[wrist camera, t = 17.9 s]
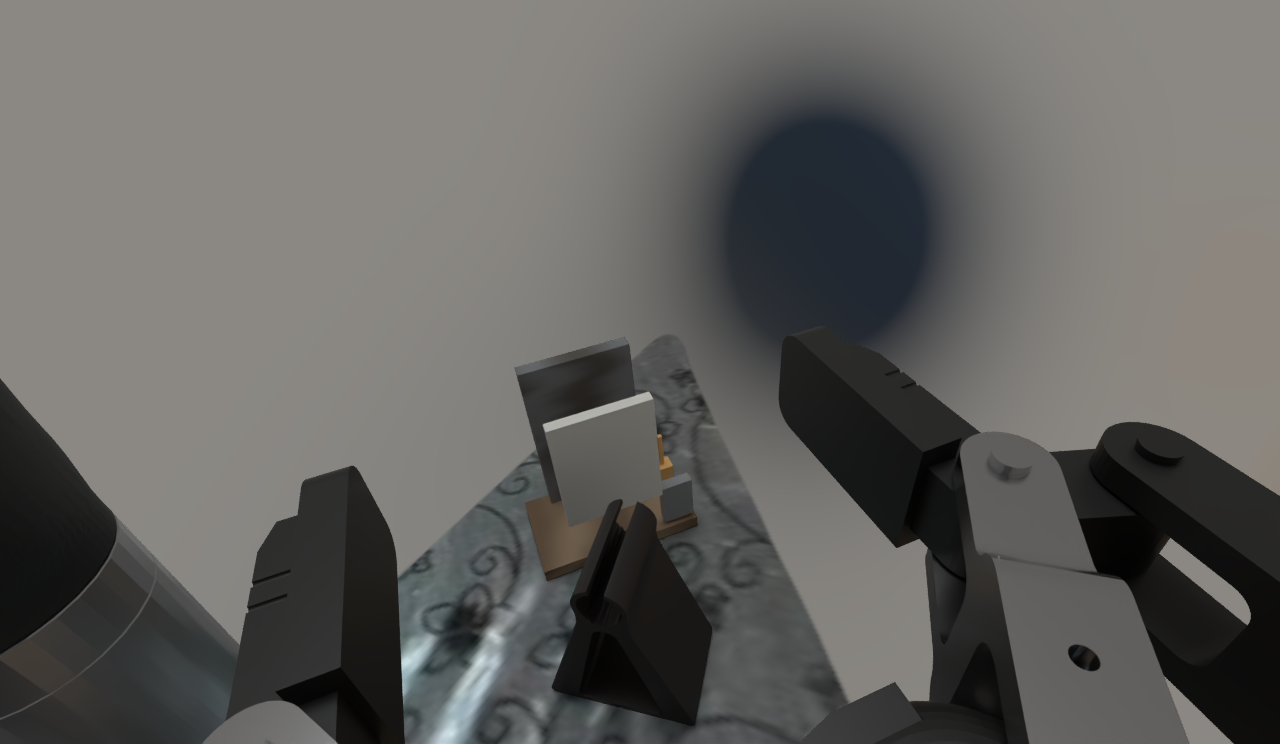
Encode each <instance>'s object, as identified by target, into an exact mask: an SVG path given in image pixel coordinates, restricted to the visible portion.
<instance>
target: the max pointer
mask: <svg viewBox="0 0 1280 744" xmlns="http://www.w3.org/2000/svg"><path fill="white" fill-rule="evenodd" d="M657 441H658V451H659V462H660V472H661V481H664V480H667V479H669V478H672V477H674V473H673V465H672V463H671V462H670V460H669V458H668V457H667V456H666V457H664V455H663V444H662V436H661V434H659V435H657Z"/></svg>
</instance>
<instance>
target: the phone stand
mask: <svg viewBox="0 0 1280 744" xmlns="http://www.w3.org/2000/svg"><path fill="white" fill-rule="evenodd" d="M622 505H623V501H622V499H617V500H614V501H612V502H611V503H610V504H609V505H608V507H607V509H606V512H605V514H604V517H603V519H602V522H601V524H600V527H599V529H598V532H597V534H596V537H595V539H594V542H593V544H592V547H591V549H590V552H589V554H588V557H587V559H586V562H585V564H584V567H583V569H582V572H581V574H580V577H579V579H578V582H577V584H576V587H575V589H574V592H573V594H572V597H571V599H570V605H571V608H572V609H573V611H574V613H575V616H576V624H575V626H574V629H573V632H572V634H571V637H570V640H569V642H568V645H567V648H566V650H565V653H564V655H563V658H562V661H561V663H560V666H559V669H558V671H557V674H556V677H555V679H554V682H553V684H552V689H554V690H555V691H558V692H561V693H565V694H569V695H573V696H577V697H581V698H585V699H589V700H593V701H597V702H601V703H604V704H608V705H612V706H616V707H619V706H621V707H623V708H624V709H628V710H632V711H636V712H640V713H643V714H647V715H651V716H655V717H659V718H663V719H667V720H671V721H675V722H679V723H683V724H686V725H694V723H695V718H696V713H697V707H698V702H699V697H700V691H701V686H702V681H703V676H704V670H705V665H706V660H707V654H708V649H709V644H710V639H711V633H712V627H711V625H710V624H709V622H708V620H707V619H706V617H705V615H704V614H703V612H702V610H701V609H700V607H699V605H698V604H697V602H696V601H695V599H694V597H693V596H692V594H691V592H690V591H689V589H688V587H687V586H686V584H685V583H684V581H683V579H682V578H681V576H680V574H679V573H678V571H677V569H676V568H675V566H674V565H673V563H672V561H671V560H670V558H669V556H668V555H667V553H666V551H665V550H664V548H663V547H662V545H661V543H660V541H659V539H658V537H657V532H656V527H657V519H656V516H655V514H654V513H653V512H652V511H651V510H650V509H649V508H648V507H647V506H645V505H644V504H642V503H640V502H638V501H637V503H636V506H635V509H634V512H633V514H632V517H631V520H630V523H629V526H628V529H627V530H626V531H624V529H623V527H622V526H619V524H618V523H617V522H616V520H617V518H618V515H619V512H620V510H621V507H622Z"/></svg>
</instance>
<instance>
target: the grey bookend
mask: <svg viewBox="0 0 1280 744" xmlns="http://www.w3.org/2000/svg"><path fill="white" fill-rule="evenodd" d="M515 371H516V375H517V378H518V382H519V386H520V390H521V393H522V397H523V401H524V404H525V408H526V411H527V416H528V419H529V423H530V427H531V430H532V434H533V438H534V441H535V445H536V449H537V453H538V456H539V460H540V464H541V467H542V471H543V475H544V479H545V482H546V486H547V490H548V493H549V495H548V496H545V497H542V498H539V499H536V500H533V501H530V502H527V503H525V505H526V509H527V512H528V516H529V519H530V523H531V526H532V530H533V533H534V537H535V540H536V544H537V547H538V551H539V555H540V558H541V562H542V565H543V569H544V572H545V575H546V579H547V580H550V579H553V578H556V577H558V576H561V575H564V574H566V573H569V572H572V571H575V570H577V569H580V568H583V567H584V564H585V562H586V559H587V557H588V554H589V552H590V549H591V547H592V544H593V542H594V539H595V537H596V534H597V532H598V529H599V527H600V524H601V522H602V519H603V517H604V516H601V517H598V518H595V519H592V520H589V521H587V522H584V523H581V524H578V525H575V526H572V527H569V525H568V522H567V519H566V515H565V511H564V507H563V503H562V499H561V495H560V491H559V487H558V483H557V479H556V475H555V471H554V467H553V463H552V459H551V455H550V451H549V448H548V444H547V440H546V436H545V432H544V428H543V424H545V423H548V422H552V421H555V420H558V419H561V418H565V417H568V416H571V415H575V414H578V413H581V412H584V411H588V410H591V409H594V408H597V407H601V406H604V405H607V404H610V403H614V402H617V401H620V400H623V399H627V398H630V397H633V396H635V388H634V379H633V371H632V363H631V355H630V347H629V343H628V341H627V340H626V339H625V337H622V338H619V339H615V340H612V341H608V342H604V343H601V344H598V345H594V346H590V347H587V348H583V349H580V350H576V351H573V352H569V353H566V354H562V355H558V356H555V357H551V358H547V359H544V360H540V361H537V362H534V363H530V364H527V365H523V366H519V367H516V368H515ZM641 503H642V504H644V505H645V506H647V507H648V508H649V509H650V510H651V511H652V512H653V513H654V514H655V516H656V519H657V527H656V532H657V537H658V539H661V538H664V537H667V536H669V535H672V534H675V533H677V532H680V531H683V530H685V529H688V528H691V527H694V526H696V525H697V516H696V514H695V512H694V511H693V513H690V514H687V515H684V516H682V517H679V518H676V519H673V520H671V521H668V522H665V521H664V519H663V517H662V515H661V505H660V496H658V497H655V498H652V499H649V500H646V501H643V502H641ZM635 506H636V504H635V505H632V506H629V507H626V508H624V509H621V510H620V512H619V515H618V518H617V520H616V522H617V523H618V524H619V526H622V527H623V529H624V531H626V530H627V529H628V526H629V523H630V520H631V517H632V514H633V512H634V509H635Z"/></svg>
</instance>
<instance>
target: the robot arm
mask: <svg viewBox="0 0 1280 744" xmlns="http://www.w3.org/2000/svg"><path fill="white" fill-rule="evenodd" d="M779 405H780V409H781V412H782V415H783V417H784V419H785V421H786V423H787V424H788V426H789V427H790V428H791V430H792V431H793V432H794V433H795V434H796V435H797V436H798V437H799V438H800V440H801V441H802V442H803V443H804V444H805V445H806V447H807V448H809V450H810V451H811V452H812V453H813V454H814V456H815V457H816V458H817V459H818V460H819V461H820V462H821V463H822V465H823V466H824V467H825V468H826V469H827V470H828V471H829V472H830V474H831V475H832V476H833V477H834V478H835V479H836V480H837V482H838V483H839V484H840V485H841V486H842V487H843V488H844V489H845V491H846V492H847V493H848V494H849V495H850V496H851V497H852V498H853V500H854V501H855V502H856V503H857V504H858V505H859V506H860V507H861V509H862V510H863V511H864V512H865V513H866V514H867V515H868V516H869V518H870V519H871V520H872V521H873V522H874V523H875V524H876V526H877V527H878V528H879V529H880V530H881V531H882V532H883V533H884V535H886V537H887V538H888V539H889V540H890V541H891V542H892V544H894V546H895V547H896V548H898V547H901V546H903V545H905V544H908V543H910V542H912V541H915V540H917V539H920V540H921V541H922V542H923V543H924V544H925V545H926V546H927V547H928V549H927V553H926V557H925V564H926V575H927V585H928V586H927V587H928V597H929V610H930V621H931V631H932V644H933V670H932V676H931V683H930V698H929V701H911V702H909V701H908V700H907V698H906V697H905V696H904V694H903V693H902V692H901V690H900V689H899V687H898V686H897V684H896V683H895V682H894V683H892V684H890V685H888V686H886V687H884V688H882V689H880V690H877V691H875V692H873V693H871V694H869V695H867V696H865V697H863V698H861V699H858V700H856V701H854V702H852V703H850V704H848V705H846V706H844V707H842V708H839V709H837V710H835V711H833V712H831V713H830V714H829V715H828V716H827V717H826V718H825V719H824V720H823V721H822V722H821V723H819V724H818V725H817V726H816V727H815V728H814V729H813V730H812V731H811V732H810V733H809V734H808V735H807V736H806V737H805V738H804V739H803V740H802V741H801V742H800V743H799V744H1189V741H1188V738H1187V736H1186V733H1185V730H1184V728H1183V725H1182V723H1181V720H1180V717H1179V715H1178V712H1177V709H1176V707H1175V704H1174V701H1173V699H1172V697H1171V694H1170V691H1169V688H1168V687H1167V683H1166V681H1165V678H1164V676H1165V677H1166V678H1167V679H1168V680H1169V681H1171V683H1172V684H1173V685H1174V686H1176V688H1177V689H1178V690H1179V691H1180V692H1181V693H1183V695H1184V696H1185V697H1186V698H1188V699H1189V700H1190V701H1191V702H1192V703H1193V704H1194V705H1195V706H1196V707H1197V708H1198V709H1199V710H1200V711H1201V712H1202V713H1203V714H1204V715H1205V716H1206V717H1207V718H1208V719H1209V720H1210V721H1211V722H1212V723H1213V724H1214V725H1215V726H1216V727H1218V729H1219V730H1220V731H1221V732H1222V733H1223V734H1224V735H1225V736H1226V737H1227V738H1229V739H1230V740H1231V741H1232V742H1233V743H1234V744H1280V496H1279V495H1277V494H1276V493H1274V492H1272V491H1271V490H1269V489H1268V488H1266V487H1264V486H1263V485H1261V484H1260V483H1258V482H1257V481H1255V480H1254V479H1252V478H1250V477H1249V476H1247V475H1246V474H1244V473H1243V472H1241V471H1239V470H1238V469H1236V468H1235V467H1233V466H1232V465H1230V464H1228V463H1227V462H1225V461H1224V460H1222V459H1221V458H1219V457H1217V456H1216V455H1214V454H1213V453H1211V452H1209V451H1208V450H1206V449H1205V448H1203V447H1202V446H1200V445H1198V444H1197V443H1195V442H1194V441H1192V440H1190V439H1188V438H1187V437H1185V436H1183V435H1181V434H1179V433H1177V432H1175V431H1172V430H1169V429H1167V428H1163V427H1160V426H1156V425H1152V424H1147V423H1140V422H1125V423H1119V424H1115V425H1113V426H1111V427H1109V428H1108V429H1107V430H1105V432H1104V433H1103V435H1102V437H1101V439H1100V441H1099V443H1098V445H1097V447H1096V449H1087V450H1073V451H1058V452H1048V451H1047V450H1045V449H1044V448H1043V447H1041V446H1040V445H1038V444H1036V443H1034V442H1032V441H1030V440H1028V439H1026V438H1023V437H1020V436H1017V435H1013V434H1009V433H1003V432H985V433H980V432H979V431H978V430H976V429H975V428H974V427H973V426H971V425H970V424H969V423H967V422H966V421H965V420H964V419H962V418H961V417H959V415H957V414H956V413H955V412H953V411H952V410H951V409H949V408H948V407H947V406H946V405H944V404H943V403H942V402H941V401H939V400H938V399H937V398H936V397H934V396H933V395H932V394H930V393H929V392H928V391H926V390H925V389H924V388H923V387H921V386H920V385H919V386H917V385H916V382H915V381H914V380H913V379H911V378H910V377H909V376H908V375H906V374H905V373H904V372H903V373H900V371H899V368H897V367H896V366H895V365H893V364H892V363H891V362H890V361H888V360H887V359H886V358H884V357H883V356H882V355H881V354H879V353H877V352H874V351H872V350H869V349H867V348H865V347H862V346H860V345H857V344H855V343H852V344H849V345H848V344H847V343H846V342H845V341H843V340H842V339H841V338H840V337H838V336H837V335H836V334H834V333H833V332H832V331H831V330H830V329H828V328H827V327H824V326H820V327H817V328H813V329H810V330H806V331H803V332H800V333H796V334H793V335H790V336H787V337H786V338H785V339H784V341H783V344H782V354H781V369H780V384H779ZM1170 538H1172V539H1173V540H1174V541H1175V542H1177V543H1178V544H1179V545H1181V546H1182V547H1183V548H1184V549H1186V550H1187V551H1188V552H1190V553H1191V554H1192V555H1193V556H1195V557H1196V558H1197V559H1198V560H1200V561H1201V562H1202V563H1203V564H1205V565H1206V566H1207V567H1209V568H1210V569H1211V570H1212V571H1214V572H1215V573H1216V574H1218V575H1219V576H1220V577H1222V578H1223V579H1224V580H1225V581H1227V582H1228V583H1229V584H1230V585H1232V586H1233V587H1234V588H1235V589H1236V590H1238V592H1239V593H1240V594H1241V595H1242V596H1243V598H1244V599H1245V600H1246V602H1247V604H1248V606H1249V609H1250V612H1251V620H1250V623H1249V624H1248V625H1246V624H1244V623H1243V622H1242V621H1241V620H1240V619H1238V618H1237V617H1236V616H1235V615H1234V614H1232V613H1231V612H1230V611H1229V610H1227V609H1226V608H1225V607H1224V606H1223V605H1221V604H1220V603H1219V602H1218V601H1216V600H1215V599H1214V598H1213V597H1212V596H1210V595H1209V594H1208V593H1207V592H1205V591H1204V590H1203V589H1202V588H1201V587H1199V586H1198V585H1197V584H1195V583H1194V582H1193V581H1192V580H1191V579H1190V578H1188V577H1187V576H1186V575H1185V574H1183V573H1182V572H1181V571H1180V570H1178V569H1177V568H1176V567H1175V566H1173V565H1172V564H1171V563H1170V562H1169V561H1168V560H1166V559H1165V558H1164V557H1163V556H1161V555H1160V554H1159V553H1160V551H1161V550H1162V549H1163V547H1164V546H1165V544H1166V543H1167V542H1168V540H1169V539H1170ZM252 583H253V587H252V588H251V589H250V590H251V591H250V595H249V601H248V605H247V608H248V610H249V612H248V613H246V617H245V621H244V627H243V632H242V637H241V643H240V645H239V644H238V643H237V642H236V641H235V640H234V639H233V638H232V637H231V636H230V635H229V634H228V633H227V631H226V630H225V629H224V628H222V626H221V625H220V624H219V623H218V622H217V621H216V620H215V619H214V618H213V617H212V616H211V615H210V614H209V613H208V612H207V611H206V610H205V609H204V607H203V606H202V605H201V604H200V603H199V602H198V601H197V600H196V599H195V598H194V597H193V596H192V595H191V594H190V593H189V592H188V591H187V590H186V589H185V588H184V587H183V586H182V584H181V583H180V582H179V581H178V580H177V579H176V578H175V577H174V576H173V575H172V574H171V573H170V572H169V571H168V570H167V569H166V568H165V567H164V566H163V565H162V564H161V563H160V562H159V560H157V558H156V557H155V556H154V555H153V554H152V553H151V552H150V551H149V550H148V549H147V548H146V547H145V546H144V545H143V544H142V543H141V542H140V541H139V540H138V539H137V538H136V537H135V536H134V535H133V534H132V533H131V531H130V530H129V529H127V527H126V526H125V525H124V524H123V523H122V522H121V521H120V520H119V519H118V518H117V517H116V516H115V515H114V514H113V512H112V511H111V510H110V509H109V508H108V507H107V506H106V505H105V504H104V503H103V502H102V501H101V500H100V499H99V498H98V497H97V496H96V494H95V493H94V492H93V491H92V490H91V488H90V487H89V486H88V484H87V483H86V481H85V480H84V479H83V477H82V476H81V475H80V473H79V472H78V471H77V469H76V468H75V466H74V465H73V464H72V462H71V461H70V460H69V458H68V457H67V456H66V454H65V453H64V452H63V451H62V449H61V448H60V447H59V446H58V445H57V444H56V442H55V441H54V440H53V439H52V437H51V436H50V435H49V434H48V433H47V432H46V431H45V430H44V429H43V428H42V427H41V426H40V424H39V423H38V422H37V421H36V420H35V419H34V418H33V417H32V416H31V414H30V413H29V412H28V411H27V410H26V409H25V408H24V407H23V405H22V404H21V403H20V402H19V401H18V399H17V398H16V397H15V396H14V395H13V393H12V392H11V391H10V390H9V389H8V387H7V386H6V385H5V384H4V383H3V381H2V380H1V379H0V744H405V739H404V716H403V694H402V671H401V648H400V626H399V603H398V580H397V560H396V551H395V546H394V542H393V538H392V535H391V532H390V529H389V527H388V525H387V523H386V521H385V519H384V517H383V515H382V513H381V511H380V509H379V508H378V506H377V504H376V502H375V500H374V498H373V496H372V495H371V493H370V491H369V489H368V487H367V485H366V483H365V482H364V480H363V478H362V476H361V474H360V472H359V471H358V470H357V468H355V467H354V466H349V467H346V468H343V469H339V470H336V471H333V472H330V473H326V474H323V475H319V476H316V477H313V478H309V479H306V480H304V481H303V483H302V486H301V493H300V501H299V509H298V515H297V516H294V517H291V518H288V519H284V520H281V521H278V522H276V524H275V525H274V527H273V528H272V530H271V532H270V533H269V535H268V536H267V538H266V539H265V541H264V543H263V544H262V546H261V547H260V549H259V551H258V552H257V558H256V563H255V568H254V574H253V579H252Z"/></svg>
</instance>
